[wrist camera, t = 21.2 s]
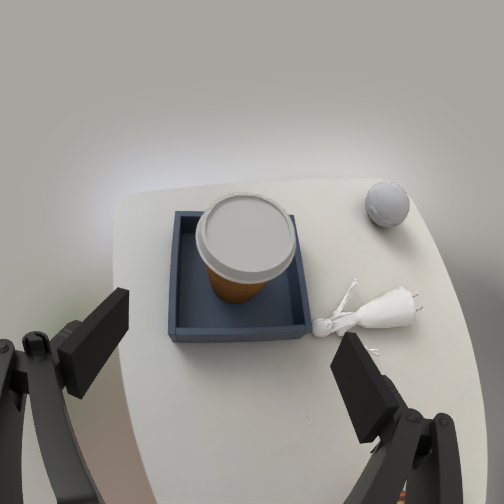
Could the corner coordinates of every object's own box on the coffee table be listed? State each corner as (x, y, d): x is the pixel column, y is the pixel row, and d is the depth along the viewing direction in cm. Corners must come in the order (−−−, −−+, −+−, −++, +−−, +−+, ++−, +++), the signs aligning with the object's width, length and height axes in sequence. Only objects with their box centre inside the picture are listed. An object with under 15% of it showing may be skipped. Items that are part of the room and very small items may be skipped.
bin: (173, 342, 30) (168, 334, 26) (177, 230, 38) (175, 210, 34) (299, 338, 33) (312, 330, 29) (284, 232, 41) (293, 214, 37)
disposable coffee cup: (186, 261, 35) (181, 203, 25) (251, 239, 38) (269, 179, 28) (215, 328, 32) (221, 294, 21) (284, 298, 35) (318, 254, 24)
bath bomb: (371, 239, 43) (396, 212, 36) (350, 202, 46) (370, 171, 39) (400, 232, 45) (425, 207, 38) (380, 198, 48) (401, 171, 42)
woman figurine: (436, 333, 31) (327, 372, 28) (418, 340, 35) (315, 374, 32) (412, 261, 36) (305, 279, 33) (397, 273, 40) (296, 292, 37)
